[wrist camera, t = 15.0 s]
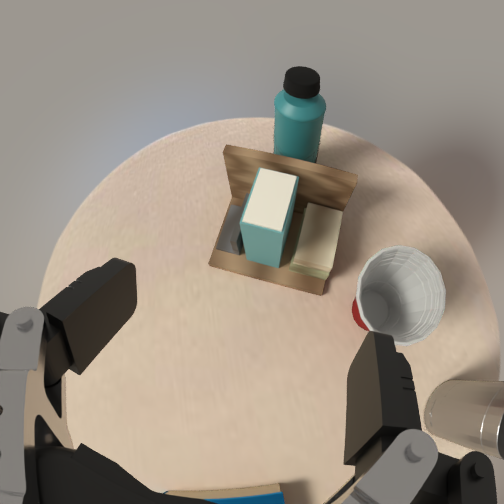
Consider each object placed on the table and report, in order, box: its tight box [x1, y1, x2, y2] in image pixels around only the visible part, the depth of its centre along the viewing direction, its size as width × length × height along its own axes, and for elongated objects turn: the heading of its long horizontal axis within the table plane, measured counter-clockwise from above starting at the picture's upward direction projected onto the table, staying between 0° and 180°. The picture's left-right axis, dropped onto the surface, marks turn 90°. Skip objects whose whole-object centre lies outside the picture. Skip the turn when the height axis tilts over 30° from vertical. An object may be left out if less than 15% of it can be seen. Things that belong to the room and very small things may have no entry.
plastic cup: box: [352, 245, 446, 346], centre depth 33 cm, size 11×11×12 cm
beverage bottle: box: [273, 66, 326, 164], centre depth 37 cm, size 6×7×20 cm
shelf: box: [209, 145, 358, 296], centre depth 37 cm, size 16×12×12 cm
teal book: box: [240, 167, 299, 268], centre depth 36 cm, size 4×7×12 cm, turn 163°
